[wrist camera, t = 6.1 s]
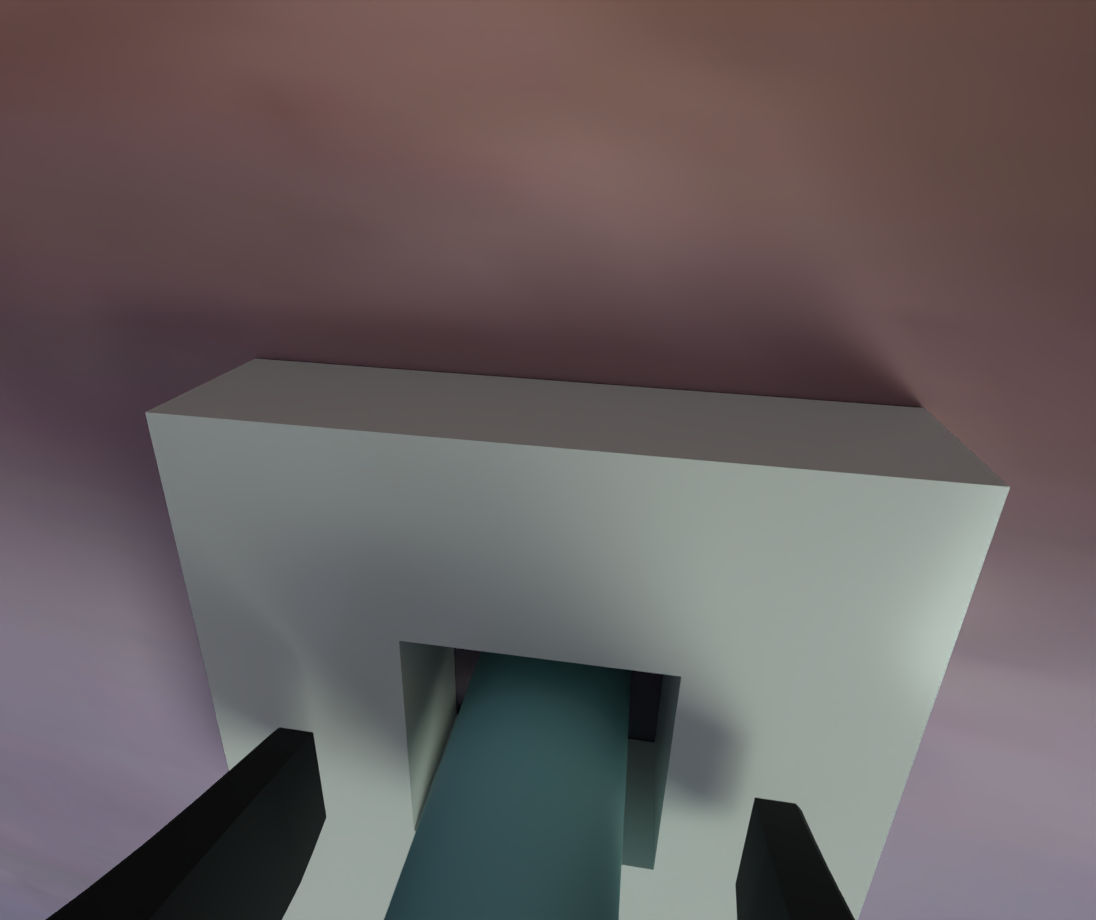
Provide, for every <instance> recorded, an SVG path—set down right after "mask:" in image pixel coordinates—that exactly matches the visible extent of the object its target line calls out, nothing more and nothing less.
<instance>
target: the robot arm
mask: <svg viewBox="0 0 1096 920" xmlns="http://www.w3.org/2000/svg"><path fill="white" fill-rule="evenodd" d="M325 820H326V811H325V804H324V798H323V792H322V785H321V779H320V773H319V766H318V760H317V753H316V747H315V741H314V734H313V732H308V731H301V730H294V729H287V728H281V727H279V728H278V729H276V730H275V731H274V732H273V733H272V734H270V735H269V736H268V737H267V738H266V739H265V740H263V741H262V742H261V743H260V744H259V745H258V746H257V747H255V748H254V749H253V750H252V751H251V752H250V753H249V754H248V755H246V756H245V757H244V758H243V759H242V760H241V761H240V762H239V763H237V764H236V765H235V766H234V767H233V768H232V769H231V770H230V771H228V772H227V773H226V774H225V775H224V776H223V777H222V778H220V779H219V780H218V781H217V782H216V783H215V784H214V785H212V786H211V787H210V788H209V789H208V790H207V791H206V792H204V793H203V794H202V795H201V796H200V797H199V798H198V799H196V800H195V801H194V802H193V803H192V804H191V805H189V806H188V807H187V808H186V809H185V810H183V811H182V812H181V813H180V814H179V815H178V816H176V817H175V818H174V819H173V820H172V821H170V822H169V823H168V824H167V825H166V826H165V827H163V828H162V829H161V830H160V831H159V832H158V833H156V834H155V835H154V836H153V837H152V838H150V839H149V840H148V841H147V842H145V843H144V844H143V845H142V846H141V847H139V848H138V849H137V850H136V851H134V852H133V853H132V854H131V855H129V856H128V857H127V858H125V859H124V860H123V861H122V862H120V863H119V864H118V865H117V866H115V867H114V868H113V869H112V870H110V871H109V872H108V873H106V874H105V875H104V876H103V877H101V878H100V879H99V880H98V881H96V882H95V883H94V884H93V885H91V886H90V887H89V888H88V889H86V890H85V891H84V892H82V893H81V894H80V895H78V896H77V897H76V898H74V899H73V900H72V901H70V902H69V903H68V904H66V905H65V906H64V907H62V908H61V909H60V910H58V911H57V912H55V913H54V914H53V915H51V916H50V917H49V918H47V919H46V920H282V919H283V917H284V915H285V913H286V911H287V909H288V907H289V905H290V903H291V901H292V899H293V897H294V895H295V893H296V891H297V889H298V887H299V885H300V883H301V881H302V878H303V876H304V873H305V871H306V869H307V866H308V864H309V861H310V859H311V856H312V854H313V851H314V849H315V846H316V843H317V841H318V838H319V835H320V833H321V830H322V828H323V825H324V822H325ZM735 886H736V906H737V920H855V918H854V917H853V915H852V913H851V911H850V909H849V907H848V905H847V903H846V901H845V899H844V897H843V895H842V893H841V892H840V890H839V888H838V886H837V884H836V882H835V880H834V878H833V876H832V874H831V872H830V870H829V868H828V866H827V864H826V862H825V860H824V858H823V856H822V853H821V851H820V849H819V847H818V845H817V843H816V841H815V839H814V836H813V834H812V832H811V830H810V828H809V826H808V823H807V821H806V819H805V817H804V814H803V812H802V810H801V809H800V808H799V807H798V805H797V804H796V803H789V802H782V801H775V800H769V799H762V798H755V799H754V803H753V808H752V812H751V816H750V821H749V825H748V830H747V834H746V839H745V843H744V848H743V852H742V857H741V861H740V866H739V870H738V875H737V879H736V884H735Z"/></svg>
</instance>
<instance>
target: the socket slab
mask: <svg viewBox="0 0 1096 920" xmlns="http://www.w3.org/2000/svg"><path fill="white" fill-rule="evenodd" d="M145 414H146V419H147V423H148V427H149V431H150V436H151V440H152V444H153V448H154V453H155V457H156V461H157V466H158V470H159V474H160V478H161V483H162V487H163V491H164V495H165V500H166V504H167V508H168V512H169V517H170V521H171V525H172V530H173V534H174V538H175V542H176V547H177V551H178V555H179V559H180V564H181V568H182V572H183V576H184V581H185V585H186V589H187V594H188V598H189V602H190V606H191V611H192V615H193V619H194V623H195V628H196V632H197V636H198V640H199V645H200V649H201V653H202V658H203V662H204V666H205V670H206V675H207V679H208V683H209V687H210V692H211V696H212V700H213V704H214V709H215V713H216V717H217V722H218V726H219V730H220V734H221V739H222V743H223V747H224V751H225V756H226V760H227V764H228V768H229V771H230V770H231V769H232V768H233V767H234V766H235V765H236V764H237V763H239V762H240V761H241V760H242V759H243V758H244V757H245V756H246V755H248V754H249V753H250V752H251V751H252V750H253V749H254V748H255V747H257V746H258V745H259V744H260V743H261V742H262V741H263V740H265V739H266V738H267V737H268V736H269V735H270V734H272V733H273V732H274V731H275V730H276V729H278V728H279V727H281V728H287V729H294V730H301V731H308V732H313V734H314V741H315V747H316V753H317V760H318V766H319V773H320V779H321V785H322V792H323V798H324V804H325V811H326V820H325V822H324V825H323V828H322V830H321V833H320V835H319V838H318V841H317V843H316V846H315V849H314V851H313V854H312V856H311V859H310V861H309V864H308V866H307V869H306V871H305V873H304V876H303V878H302V881H301V883H300V885H299V887H298V889H297V891H296V893H295V895H294V897H293V899H292V901H291V903H290V905H289V907H288V909H287V911H286V913H285V915H284V917H283V919H282V920H384V918H385V915H386V913H387V910H388V907H389V904H390V901H391V899H392V896H393V893H394V890H395V888H396V885H397V882H398V879H399V877H400V874H401V871H402V868H403V866H404V863H405V860H406V857H407V854H408V852H409V849H410V846H411V843H412V841H413V838H414V835H415V832H416V830H417V827H418V824H419V821H420V819H421V816H422V813H423V810H424V808H425V805H426V802H427V799H428V796H429V794H430V791H431V788H432V785H433V783H434V780H435V777H436V774H437V772H438V769H439V766H440V763H441V761H442V758H443V755H444V752H445V749H446V747H447V744H448V741H449V738H450V736H451V733H452V730H453V727H454V725H455V722H456V719H457V716H458V715H457V714H456V687H455V660H454V648H460V649H468V650H476V651H484V652H492V653H500V654H508V655H516V656H523V657H531V658H539V659H547V660H555V661H563V662H571V663H578V664H586V665H594V666H602V667H610V668H618V669H626V670H634V671H641V672H649V673H657V674H663V681H662V689H661V697H660V705H659V712H658V720H657V728H656V736H655V742H649V741H641V740H634V739H628V750H627V769H626V788H625V807H624V826H623V846H622V865H621V884H620V903H619V920H737V906H736V886H735V884H736V879H737V875H738V870H739V866H740V861H741V857H742V852H743V848H744V843H745V839H746V834H747V830H748V825H749V821H750V816H751V812H752V808H753V803H754V799H755V798H762V799H769V800H775V801H782V802H789V803H796V804H797V805H798V807H799V808H800V809H801V810H802V812H803V814H804V817H805V819H806V821H807V823H808V826H809V828H810V830H811V832H812V834H813V836H814V839H815V841H816V843H817V845H818V847H819V849H820V851H821V853H822V856H823V858H824V860H825V862H826V864H827V866H828V868H829V870H830V872H831V874H832V876H833V878H834V880H835V882H836V884H837V886H838V888H839V890H840V892H841V893H842V895H843V897H844V899H845V901H846V903H847V905H848V907H849V909H850V911H851V913H852V915H853V917H854V918H855V920H858V918H859V915H860V912H861V909H862V907H863V904H864V901H865V898H866V895H867V892H868V890H869V887H870V884H871V881H872V878H873V875H874V873H875V870H876V867H877V864H878V861H879V858H880V855H881V853H882V850H883V847H884V844H885V841H886V838H887V836H888V833H889V830H890V827H891V824H892V821H893V818H894V816H895V813H896V810H897V807H898V804H899V801H900V799H901V796H902V793H903V790H904V787H905V784H906V782H907V779H908V776H909V773H910V770H911V767H912V764H913V762H914V759H915V756H916V753H917V750H918V747H919V745H920V742H921V739H922V736H923V733H924V730H925V728H926V725H927V722H928V719H929V716H930V713H931V710H932V708H933V705H934V702H935V699H936V696H937V693H938V691H939V688H940V685H941V682H942V679H943V676H944V673H945V671H946V668H947V665H948V662H949V659H950V656H951V654H952V651H953V648H954V645H955V642H956V639H957V637H958V634H959V631H960V628H961V625H962V622H963V619H964V617H965V614H966V611H967V608H968V605H969V602H970V600H971V597H972V594H973V591H974V588H975V585H976V583H977V580H978V577H979V574H980V571H981V568H982V565H983V563H984V560H985V557H986V554H987V551H988V548H989V546H990V543H991V540H992V537H993V534H994V531H995V528H996V526H997V523H998V520H999V517H1000V514H1001V511H1002V509H1003V506H1004V503H1005V500H1006V497H1007V494H1008V492H1009V489H1010V487H1009V486H1008V485H1007V484H1006V483H1005V482H1004V481H1003V480H1002V479H1001V478H1000V477H999V476H998V475H996V474H995V473H994V472H993V471H992V470H991V469H990V468H989V467H988V466H987V465H986V464H985V463H984V462H982V461H981V460H980V459H979V458H978V457H977V456H976V455H975V454H974V453H973V452H972V451H971V450H969V449H968V448H967V447H966V446H965V445H964V444H963V443H962V442H961V441H960V440H959V439H958V438H957V437H955V436H954V435H953V434H952V433H951V432H950V431H949V430H948V429H947V428H946V427H945V426H944V425H943V424H941V423H940V422H939V421H938V420H937V419H936V418H935V417H934V416H933V415H932V414H931V413H930V412H928V411H927V410H926V409H925V408H917V407H903V406H890V405H876V404H863V403H849V402H835V401H822V400H808V399H795V398H781V397H768V396H754V395H741V394H727V393H714V392H700V391H687V390H673V389H659V388H646V387H632V386H619V385H605V384H592V383H578V382H565V381H551V380H538V379H524V378H511V377H497V376H483V375H470V374H456V373H443V372H429V371H416V370H402V369H389V368H375V367H362V366H348V365H335V364H321V363H308V362H294V361H280V360H267V359H253V360H251V361H249V362H247V363H245V364H243V365H241V366H239V367H237V368H235V369H233V370H231V371H229V372H227V373H225V374H222V375H220V376H218V377H216V378H214V379H212V380H210V381H208V382H206V383H204V384H202V385H200V386H198V387H196V388H194V389H192V390H190V391H188V392H185V393H183V394H181V395H179V396H177V397H175V398H173V399H171V400H169V401H167V402H165V403H163V404H161V405H159V406H157V407H155V408H153V409H151V410H148V411H146V412H145Z"/></svg>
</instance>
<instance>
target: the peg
mask: <svg viewBox="0 0 1096 920" xmlns="http://www.w3.org/2000/svg"><path fill="white" fill-rule="evenodd" d="M631 673H632V670H626V669H618V668H610V667H602V666H594V665H586V664H578V663H571V662H563V661H555V660H547V659H539V658H531V657H523V656H516V655H508V654H500V653H492V652H484V651H481V653H480V656H479V658H478V661H477V664H476V667H475V669H474V672H473V675H472V678H471V680H470V683H469V686H468V689H467V691H466V694H465V697H464V700H463V703H462V705H461V708H460V711H459V714H458V716H457V719H456V722H455V725H454V727H453V730H452V733H451V736H450V738H449V741H448V744H447V747H446V749H445V752H444V755H443V758H442V761H441V763H440V766H439V769H438V772H437V774H436V777H435V780H434V783H433V785H432V788H431V791H430V794H429V796H428V799H427V802H426V805H425V808H424V810H423V813H422V816H421V819H420V821H419V824H418V827H417V830H416V832H415V835H414V838H413V841H412V843H411V846H410V849H409V852H408V854H407V857H406V860H405V863H404V866H403V868H402V871H401V874H400V877H399V879H398V882H397V885H396V888H395V890H394V893H393V896H392V899H391V901H390V904H389V907H388V910H387V913H386V915H385V918H384V920H619V903H620V884H621V865H622V846H623V826H624V807H625V788H626V769H627V750H628V731H629V712H630V693H631Z"/></svg>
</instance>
